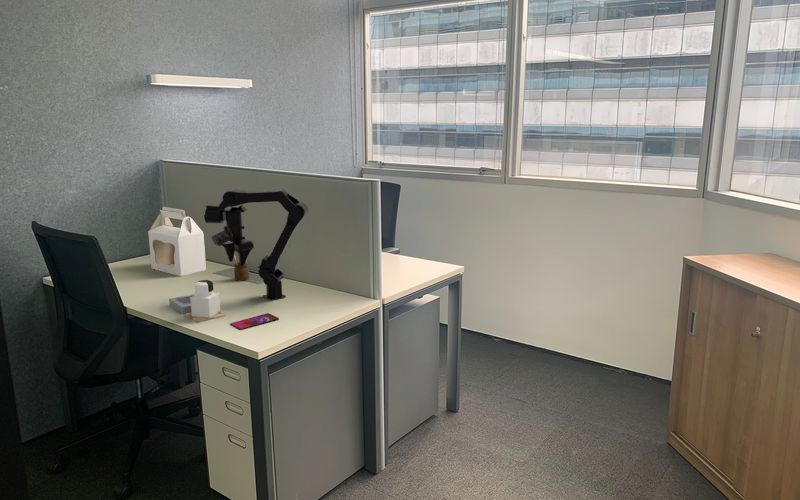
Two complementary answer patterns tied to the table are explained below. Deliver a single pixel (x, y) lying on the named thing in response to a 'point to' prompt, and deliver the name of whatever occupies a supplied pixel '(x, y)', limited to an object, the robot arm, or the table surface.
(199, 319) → the cork coaster
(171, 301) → the parts tub
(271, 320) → the smartphone
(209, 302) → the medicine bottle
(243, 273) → the utensil holder
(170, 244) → the gable box
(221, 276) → the table surface
